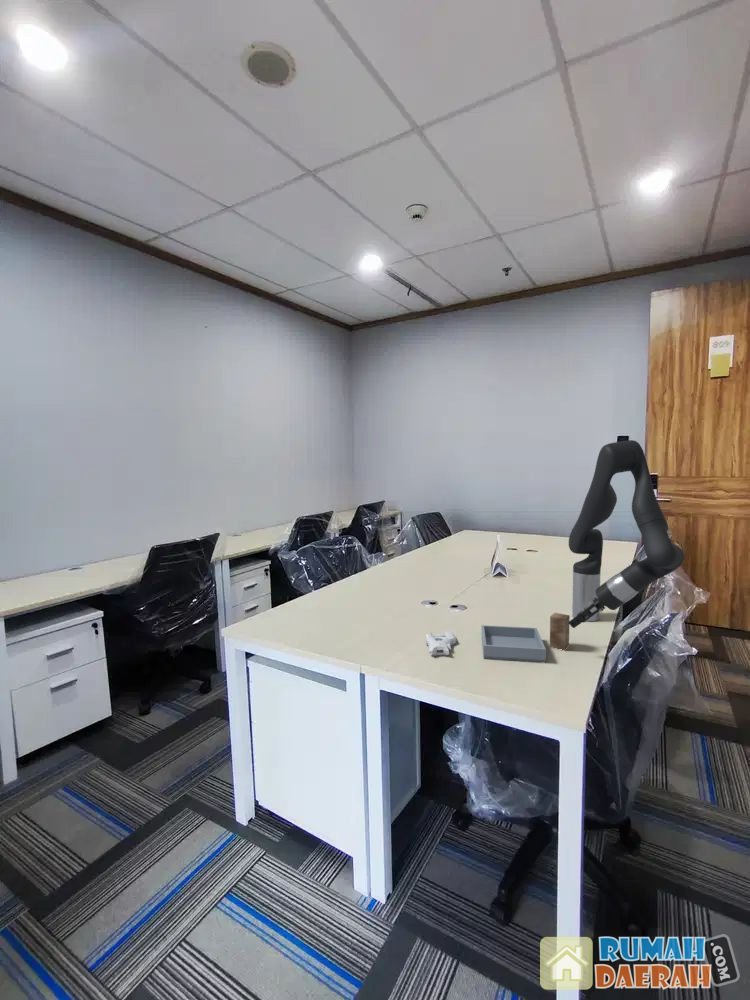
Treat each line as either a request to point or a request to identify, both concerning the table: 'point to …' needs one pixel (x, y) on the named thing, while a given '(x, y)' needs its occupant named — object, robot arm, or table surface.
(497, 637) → the box
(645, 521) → the robot arm
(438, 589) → the table surface
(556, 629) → the handle block
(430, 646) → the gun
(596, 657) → the table surface
